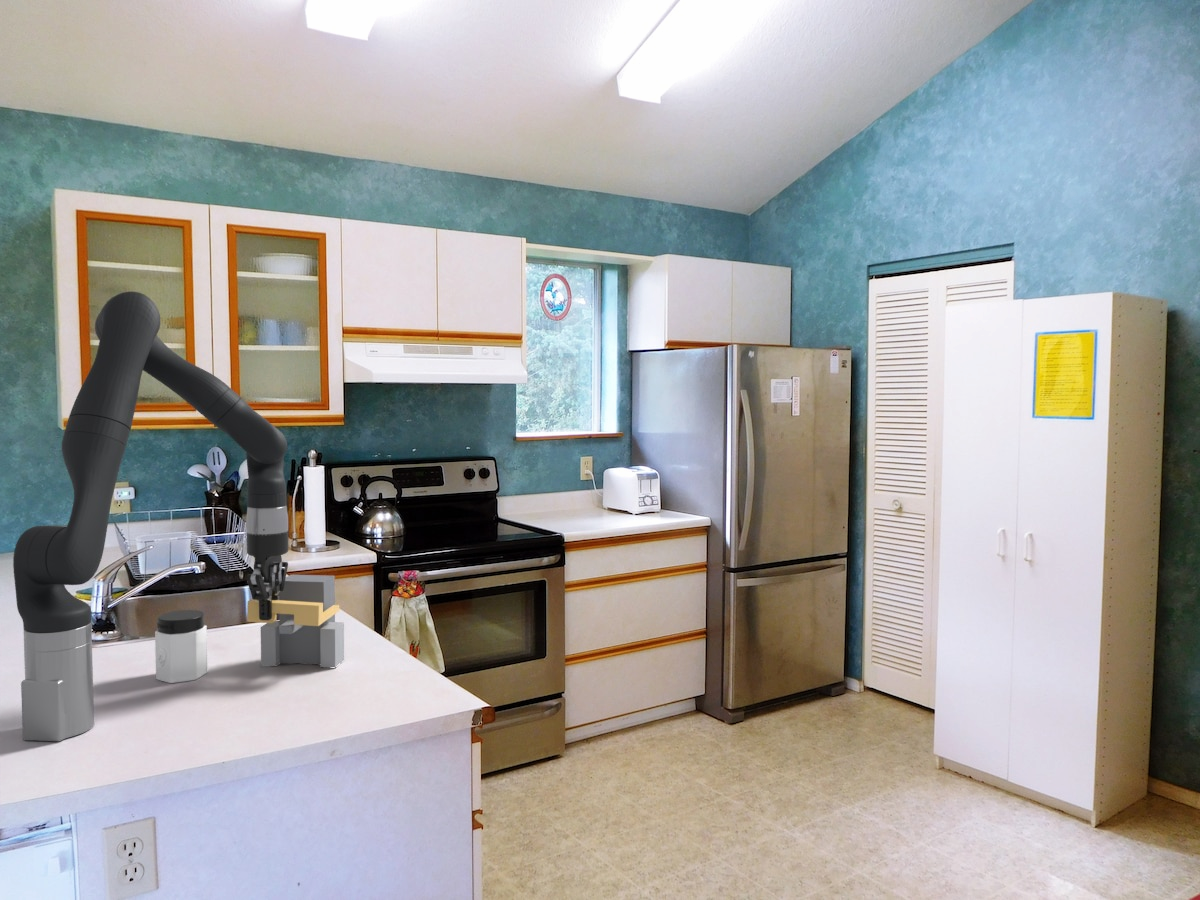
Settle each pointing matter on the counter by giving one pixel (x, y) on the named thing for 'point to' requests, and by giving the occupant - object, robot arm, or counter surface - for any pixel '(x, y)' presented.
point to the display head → (304, 627)
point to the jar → (181, 646)
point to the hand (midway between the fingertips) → (268, 617)
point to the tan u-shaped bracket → (293, 612)
